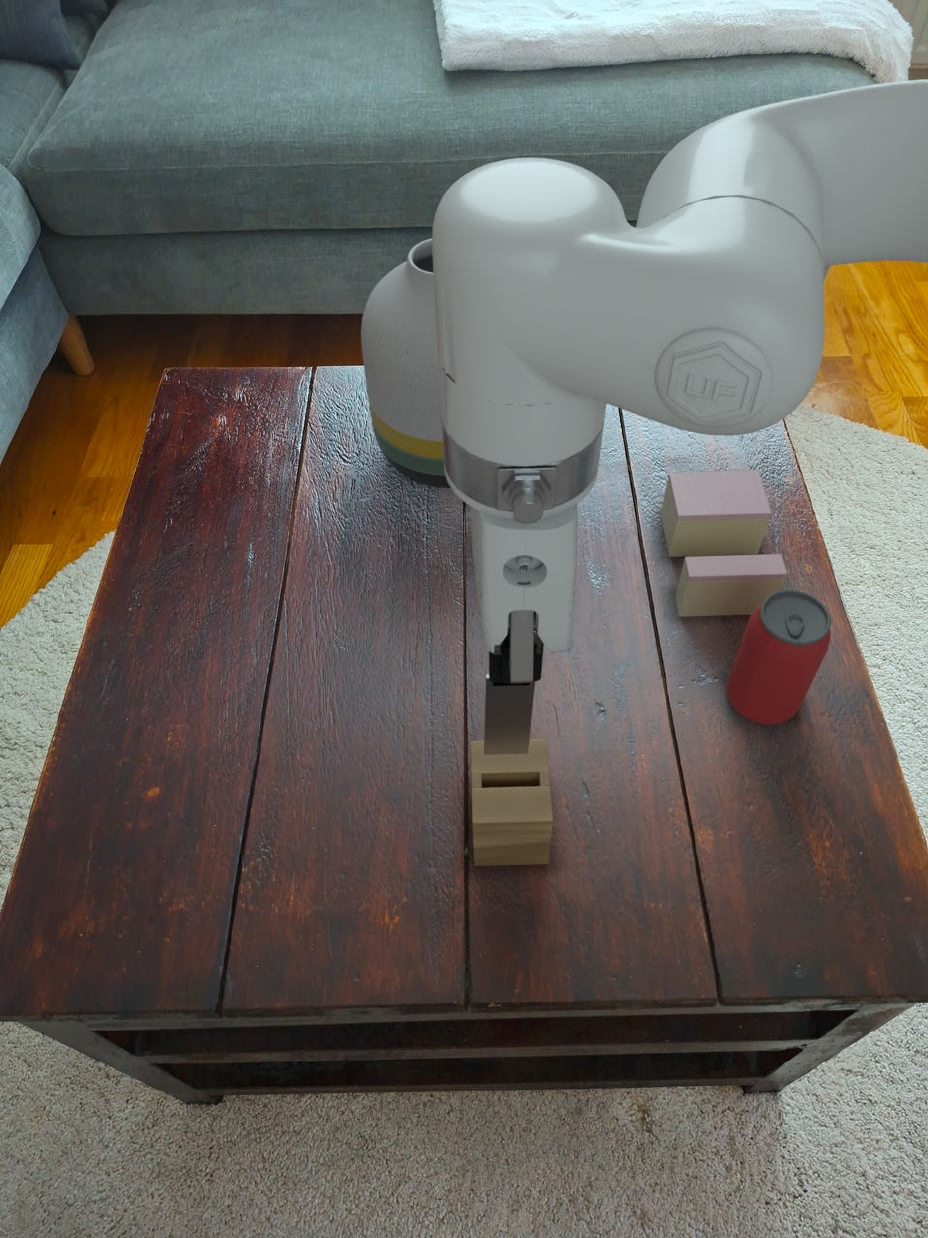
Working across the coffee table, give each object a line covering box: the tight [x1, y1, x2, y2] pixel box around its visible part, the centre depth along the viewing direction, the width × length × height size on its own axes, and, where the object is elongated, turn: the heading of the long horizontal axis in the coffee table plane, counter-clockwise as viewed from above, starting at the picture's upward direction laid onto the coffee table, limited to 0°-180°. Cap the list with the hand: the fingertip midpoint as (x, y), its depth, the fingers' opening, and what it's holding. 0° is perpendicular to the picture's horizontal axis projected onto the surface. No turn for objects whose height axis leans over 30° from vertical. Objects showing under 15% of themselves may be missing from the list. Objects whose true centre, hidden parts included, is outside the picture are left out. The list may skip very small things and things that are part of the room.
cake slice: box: [674, 553, 788, 617], centre depth 89 cm, size 2×9×6 cm, turn 91°
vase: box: [360, 238, 451, 489], centre depth 96 cm, size 17×17×24 cm
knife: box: [483, 674, 536, 755], centre depth 62 cm, size 2×3×16 cm, turn 91°
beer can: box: [725, 589, 832, 726], centre depth 80 cm, size 7×7×12 cm
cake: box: [660, 469, 772, 558], centre depth 94 cm, size 6×9×6 cm, turn 91°
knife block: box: [469, 738, 554, 867], centre depth 74 cm, size 7×6×8 cm
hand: (513, 661), depth 59 cm, fingers closed on knife, 1 cm apart
